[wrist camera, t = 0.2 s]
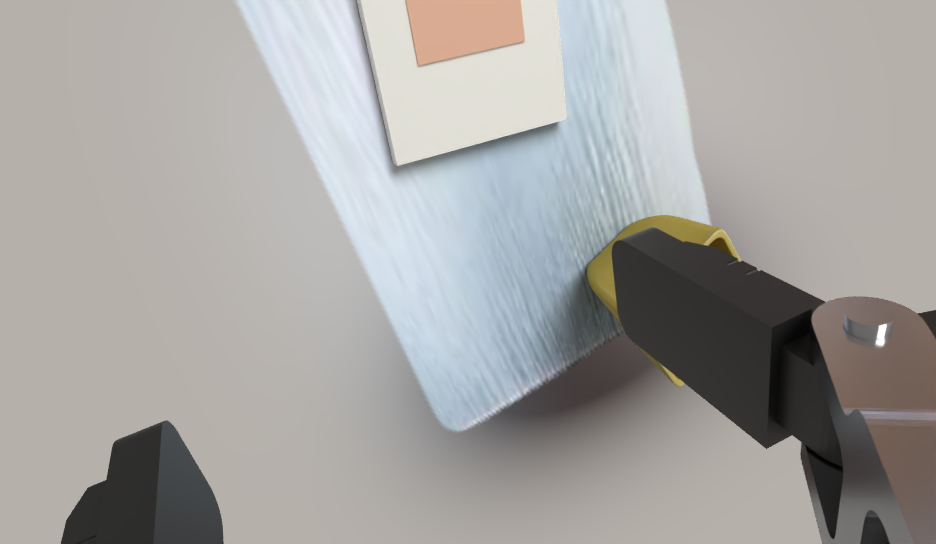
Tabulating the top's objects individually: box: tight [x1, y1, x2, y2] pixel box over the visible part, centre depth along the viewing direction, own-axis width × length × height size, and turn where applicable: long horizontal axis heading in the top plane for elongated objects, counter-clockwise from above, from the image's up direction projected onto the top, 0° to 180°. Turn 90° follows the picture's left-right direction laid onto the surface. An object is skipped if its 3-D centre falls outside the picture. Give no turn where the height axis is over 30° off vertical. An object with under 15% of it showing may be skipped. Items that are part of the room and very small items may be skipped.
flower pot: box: [587, 215, 741, 387], centre depth 45 cm, size 9×9×9 cm
